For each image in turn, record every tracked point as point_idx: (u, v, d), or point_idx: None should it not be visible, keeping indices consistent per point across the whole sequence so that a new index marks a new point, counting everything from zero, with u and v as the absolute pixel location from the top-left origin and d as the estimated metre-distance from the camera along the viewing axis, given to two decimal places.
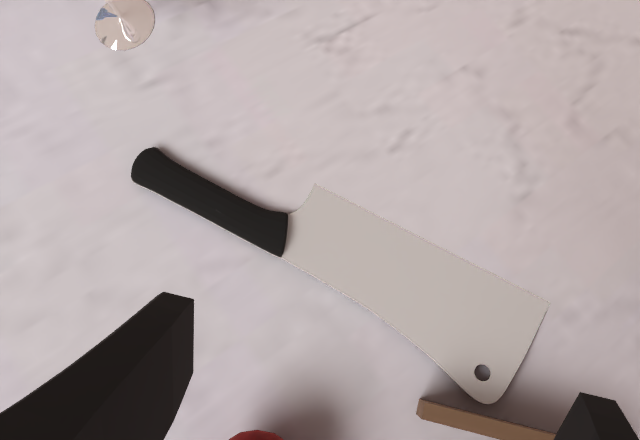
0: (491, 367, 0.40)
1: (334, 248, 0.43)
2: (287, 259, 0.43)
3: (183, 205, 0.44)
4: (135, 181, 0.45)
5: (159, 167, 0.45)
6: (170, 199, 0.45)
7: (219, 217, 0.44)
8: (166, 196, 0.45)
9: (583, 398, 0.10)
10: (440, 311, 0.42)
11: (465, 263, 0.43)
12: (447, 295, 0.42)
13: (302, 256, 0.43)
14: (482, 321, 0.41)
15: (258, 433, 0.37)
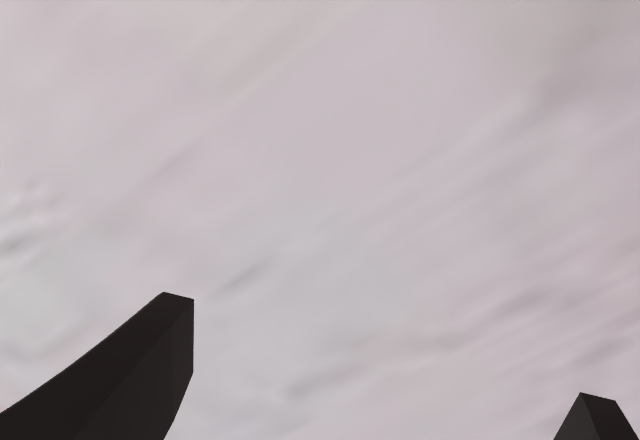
0: None
1: None
2: None
3: None
4: None
5: None
6: None
7: None
8: None
9: (583, 398, 0.10)
10: None
11: None
12: None
13: None
14: None
15: None
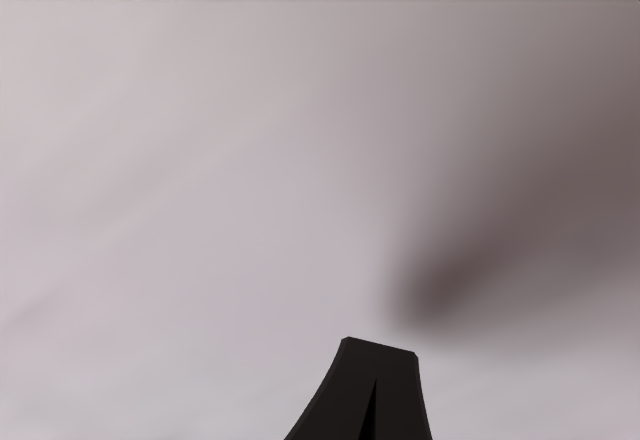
0: None
1: None
2: None
3: None
4: None
5: None
6: None
7: None
8: None
9: (381, 349, 0.11)
10: None
11: None
12: None
13: None
14: None
15: None
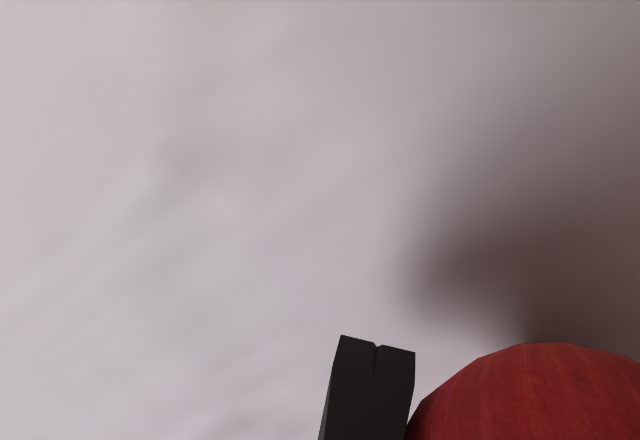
0: None
1: None
2: None
3: None
4: None
5: None
6: None
7: None
8: None
9: (340, 339, 0.11)
10: None
11: None
12: None
13: None
14: None
15: None
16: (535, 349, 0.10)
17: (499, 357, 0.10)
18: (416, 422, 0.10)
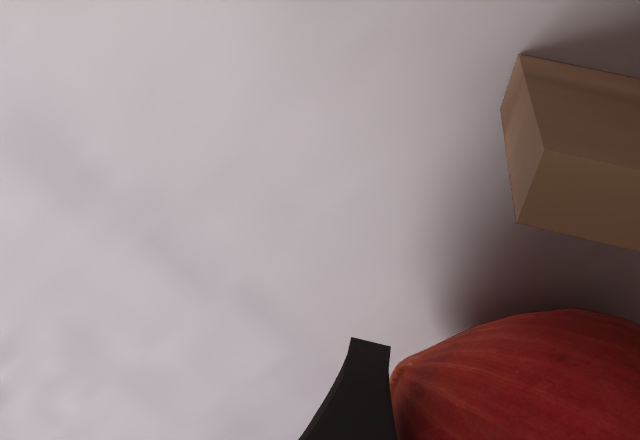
0: None
1: None
2: None
3: None
4: None
5: None
6: None
7: None
8: None
9: (351, 342, 0.11)
10: None
11: None
12: None
13: None
14: None
15: None
16: (485, 361, 0.10)
17: (470, 391, 0.10)
18: None
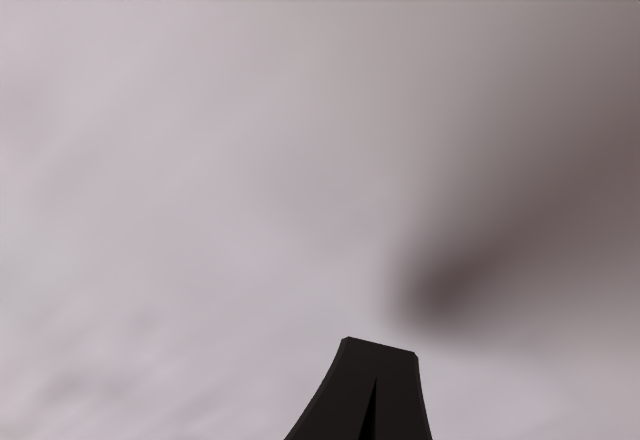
0: None
1: None
2: None
3: None
4: None
5: None
6: None
7: None
8: None
9: (381, 349, 0.11)
10: None
11: None
12: None
13: None
14: None
15: None
16: None
17: None
18: None
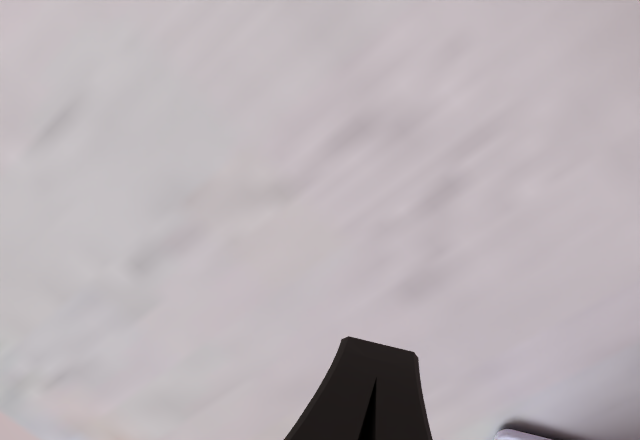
0: None
1: None
2: None
3: None
4: None
5: None
6: None
7: None
8: None
9: (381, 349, 0.11)
10: None
11: None
12: None
13: None
14: None
15: None
16: None
17: None
18: None
